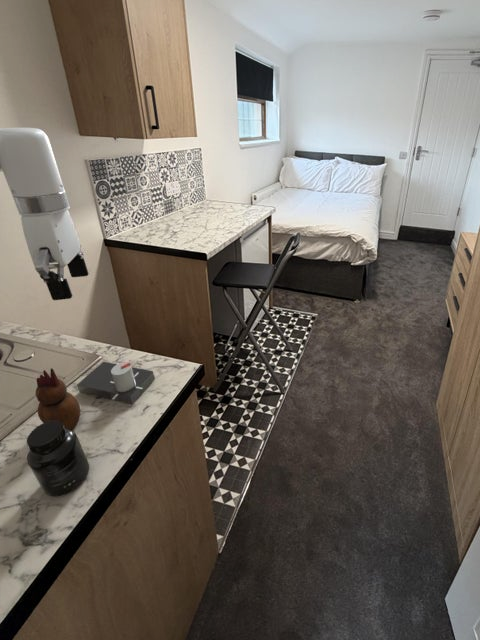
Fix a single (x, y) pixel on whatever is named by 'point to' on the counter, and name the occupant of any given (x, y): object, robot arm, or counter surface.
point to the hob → (104, 385)
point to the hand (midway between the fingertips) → (72, 286)
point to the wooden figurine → (56, 401)
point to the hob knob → (123, 377)
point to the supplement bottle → (56, 458)
